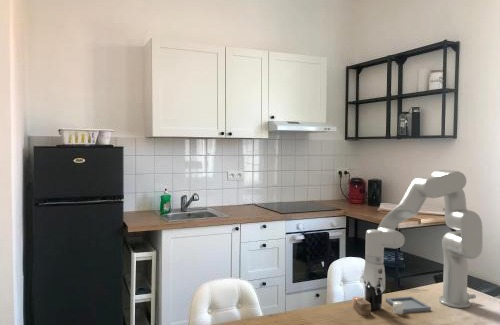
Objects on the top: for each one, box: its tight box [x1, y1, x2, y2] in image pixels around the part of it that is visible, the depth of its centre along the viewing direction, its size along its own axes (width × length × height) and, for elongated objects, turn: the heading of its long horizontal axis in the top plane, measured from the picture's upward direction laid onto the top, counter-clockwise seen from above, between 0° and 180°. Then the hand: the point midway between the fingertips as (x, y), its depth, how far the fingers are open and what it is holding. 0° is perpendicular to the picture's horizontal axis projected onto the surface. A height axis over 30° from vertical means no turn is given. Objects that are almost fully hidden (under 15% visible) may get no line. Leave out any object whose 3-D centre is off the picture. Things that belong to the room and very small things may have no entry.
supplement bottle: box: [364, 281, 383, 311], centre depth 173 cm, size 7×7×12 cm
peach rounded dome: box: [352, 296, 364, 310], centre depth 173 cm, size 4×4×4 cm
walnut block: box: [354, 299, 372, 316], centre depth 167 cm, size 4×4×4 cm
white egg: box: [392, 301, 404, 315], centre depth 168 cm, size 4×4×4 cm
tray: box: [385, 295, 432, 314], centre depth 176 cm, size 13×13×2 cm
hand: (373, 300), depth 173 cm, fingers closed on supplement bottle, 6 cm apart
